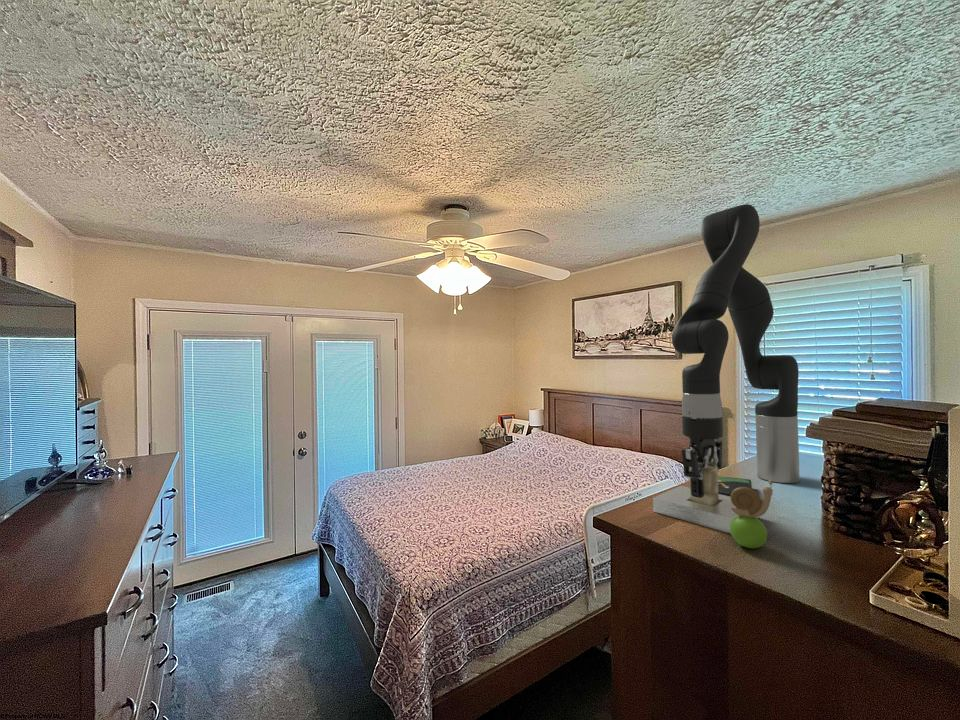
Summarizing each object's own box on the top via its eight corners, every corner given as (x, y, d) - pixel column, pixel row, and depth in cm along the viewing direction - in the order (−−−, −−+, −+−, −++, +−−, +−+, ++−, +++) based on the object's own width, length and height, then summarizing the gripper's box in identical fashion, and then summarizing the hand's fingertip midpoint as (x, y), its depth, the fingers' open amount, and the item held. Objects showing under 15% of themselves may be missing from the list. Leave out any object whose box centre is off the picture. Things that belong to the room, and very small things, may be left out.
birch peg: (699, 509, 88) (697, 463, 88) (719, 514, 85) (717, 467, 85) (690, 514, 86) (689, 467, 86) (710, 519, 82) (709, 471, 82)
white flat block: (681, 498, 95) (680, 485, 95) (759, 517, 83) (758, 502, 83) (653, 511, 88) (653, 497, 88) (735, 535, 75) (734, 519, 75)
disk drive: (754, 509, 89) (751, 489, 101) (754, 496, 89) (750, 478, 101) (701, 501, 94) (704, 483, 107) (700, 489, 94) (704, 473, 107)
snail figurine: (776, 558, 66) (774, 485, 66) (730, 549, 69) (728, 480, 69) (773, 545, 71) (771, 477, 71) (730, 537, 74) (728, 472, 74)
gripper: (698, 409, 93) (700, 482, 93) (667, 416, 84) (670, 496, 84) (734, 412, 87) (737, 490, 87) (705, 419, 78) (708, 506, 78)
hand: (704, 493), depth 85 cm, fingers open, 6 cm apart
